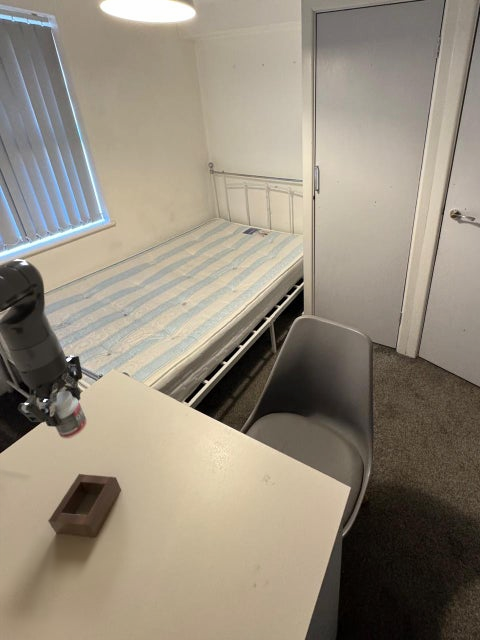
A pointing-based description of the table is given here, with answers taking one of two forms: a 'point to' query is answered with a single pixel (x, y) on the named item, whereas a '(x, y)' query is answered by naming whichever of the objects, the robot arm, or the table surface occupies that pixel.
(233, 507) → the table surface
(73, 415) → the pill bottle
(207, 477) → the table surface
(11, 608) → the table surface
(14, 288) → the robot arm
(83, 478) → the holder
